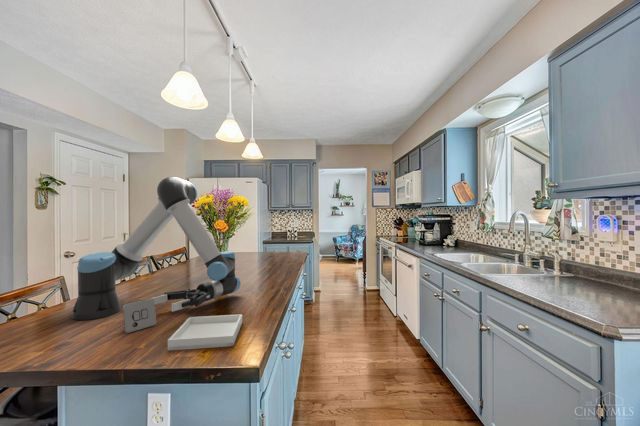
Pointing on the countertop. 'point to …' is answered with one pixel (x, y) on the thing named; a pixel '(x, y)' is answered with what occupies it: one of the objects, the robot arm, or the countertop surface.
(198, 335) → the white square tray
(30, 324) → the countertop surface
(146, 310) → the electrical switch
